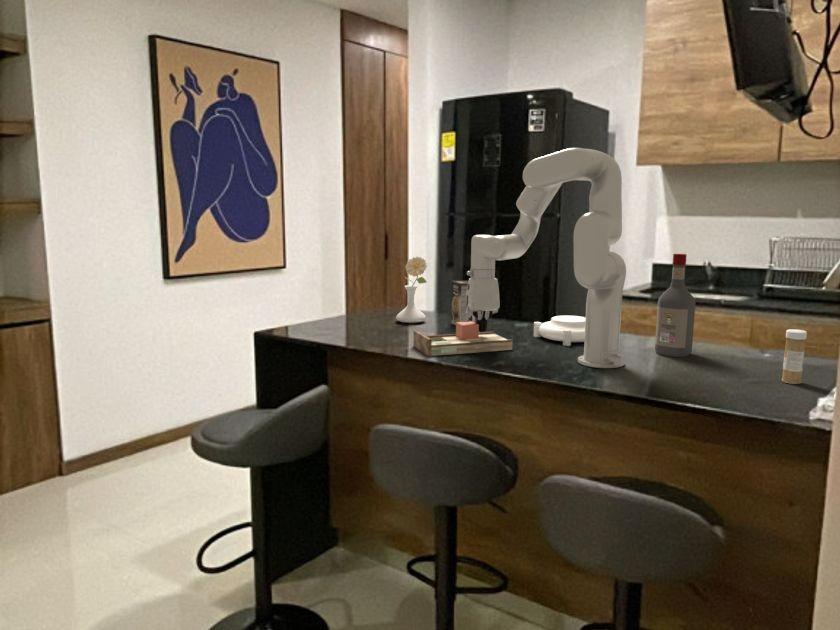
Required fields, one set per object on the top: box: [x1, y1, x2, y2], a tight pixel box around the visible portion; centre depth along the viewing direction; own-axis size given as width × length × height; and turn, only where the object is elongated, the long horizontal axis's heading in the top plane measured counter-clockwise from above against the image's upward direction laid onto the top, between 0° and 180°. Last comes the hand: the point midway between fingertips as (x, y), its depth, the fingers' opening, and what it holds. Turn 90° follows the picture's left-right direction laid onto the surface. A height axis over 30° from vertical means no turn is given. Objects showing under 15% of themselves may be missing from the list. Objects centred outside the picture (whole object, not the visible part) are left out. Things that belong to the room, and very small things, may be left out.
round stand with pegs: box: [533, 315, 586, 347], centre depth 221 cm, size 24×24×7 cm
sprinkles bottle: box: [781, 328, 808, 385], centre depth 167 cm, size 5×5×13 cm
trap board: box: [413, 330, 513, 357], centre depth 206 cm, size 14×28×5 cm, turn 109°
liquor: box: [654, 253, 696, 358], centre depth 197 cm, size 9×9×30 cm
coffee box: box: [451, 280, 476, 326], centre depth 243 cm, size 9×6×16 cm
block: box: [455, 322, 479, 340], centre depth 209 cm, size 6×6×4 cm
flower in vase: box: [395, 256, 428, 324], centre depth 247 cm, size 13×11×25 cm
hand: (481, 331), depth 211 cm, fingers closed
